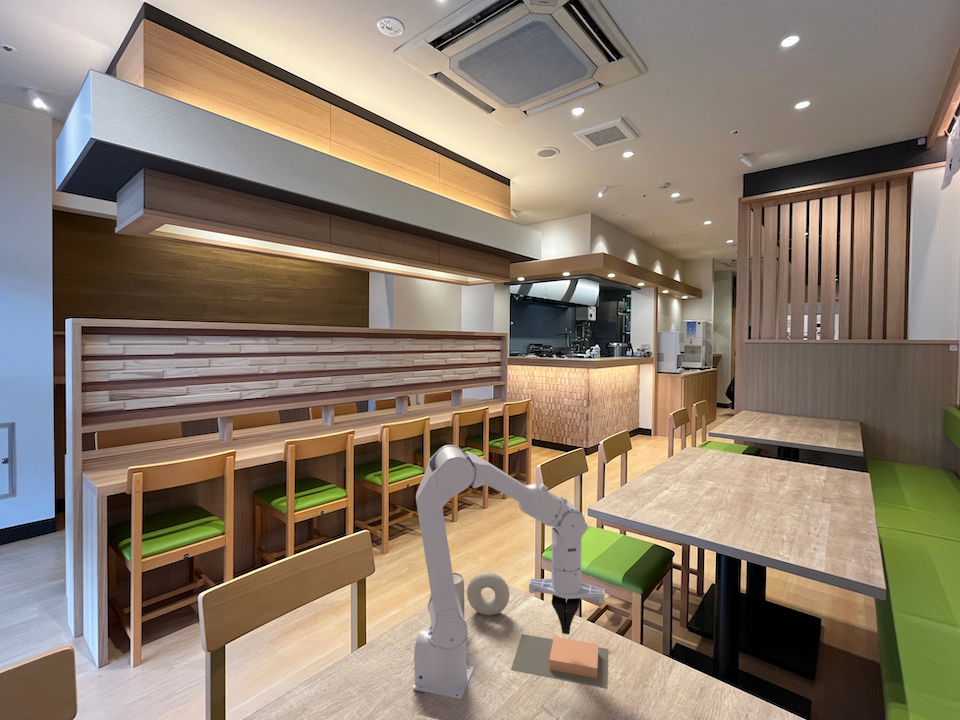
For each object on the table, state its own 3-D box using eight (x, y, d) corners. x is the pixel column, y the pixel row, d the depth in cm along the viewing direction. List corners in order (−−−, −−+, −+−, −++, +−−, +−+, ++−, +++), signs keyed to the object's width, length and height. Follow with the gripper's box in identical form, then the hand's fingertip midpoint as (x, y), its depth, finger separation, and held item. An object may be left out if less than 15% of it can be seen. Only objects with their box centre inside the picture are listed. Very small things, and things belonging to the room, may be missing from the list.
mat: (511, 671, 91) (511, 669, 91) (521, 635, 102) (521, 633, 102) (607, 690, 86) (607, 688, 86) (608, 650, 97) (608, 648, 97)
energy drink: (435, 630, 103) (434, 578, 103) (454, 620, 107) (453, 569, 106) (450, 642, 100) (449, 588, 99) (469, 631, 103) (469, 578, 102)
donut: (510, 611, 110) (510, 570, 110) (509, 620, 107) (508, 578, 106) (468, 608, 112) (467, 567, 111) (465, 617, 108) (465, 575, 108)
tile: (549, 659, 91) (597, 668, 88) (553, 636, 98) (598, 644, 95) (549, 669, 91) (597, 678, 88) (553, 645, 98) (598, 653, 95)
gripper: (605, 559, 94) (604, 624, 95) (533, 550, 98) (533, 613, 99) (604, 577, 87) (603, 647, 88) (527, 567, 91) (527, 634, 92)
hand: (566, 630), depth 93 cm, fingers closed
